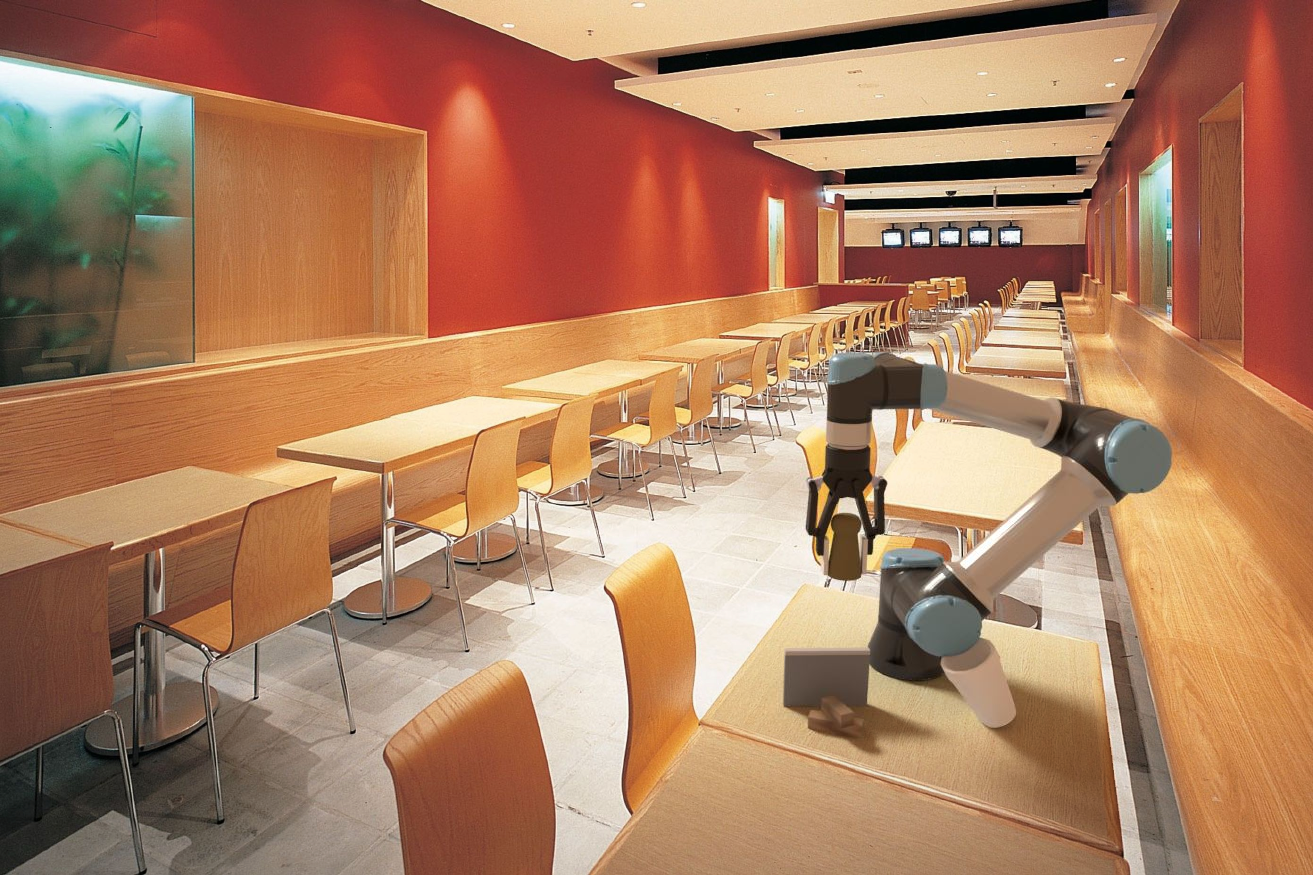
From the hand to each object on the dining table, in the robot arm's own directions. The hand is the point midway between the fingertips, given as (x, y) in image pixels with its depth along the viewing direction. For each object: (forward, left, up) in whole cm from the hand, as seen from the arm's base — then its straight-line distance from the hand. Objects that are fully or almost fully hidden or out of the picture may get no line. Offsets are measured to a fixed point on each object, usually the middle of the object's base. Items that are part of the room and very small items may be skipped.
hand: (843, 571), depth 152 cm
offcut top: (+4, +9, -23) cm, 25 cm away
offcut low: (+4, +9, -25) cm, 27 cm away
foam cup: (-24, +13, -24) cm, 36 cm away
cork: (0, 0, 0) cm, 1 cm away
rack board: (+3, +1, -25) cm, 25 cm away
